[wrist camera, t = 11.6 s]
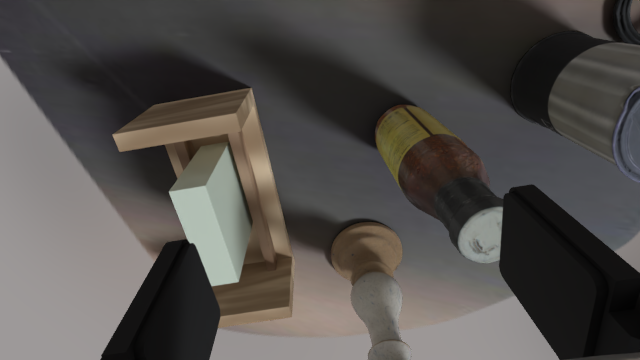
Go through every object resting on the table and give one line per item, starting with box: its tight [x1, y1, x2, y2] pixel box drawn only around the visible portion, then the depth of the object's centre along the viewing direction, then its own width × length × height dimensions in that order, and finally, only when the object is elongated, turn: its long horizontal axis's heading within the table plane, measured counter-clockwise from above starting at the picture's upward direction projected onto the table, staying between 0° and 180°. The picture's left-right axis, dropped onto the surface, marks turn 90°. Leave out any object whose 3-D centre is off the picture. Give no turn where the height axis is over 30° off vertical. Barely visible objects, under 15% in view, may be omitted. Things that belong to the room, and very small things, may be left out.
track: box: [112, 88, 295, 328], centre depth 38 cm, size 22×10×9 cm, turn 9°
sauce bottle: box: [375, 105, 503, 263], centre depth 31 cm, size 6×6×20 cm
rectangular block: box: [169, 142, 253, 286], centre depth 36 cm, size 10×4×10 cm, turn 10°
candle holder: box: [331, 222, 412, 360], centre depth 37 cm, size 9×9×20 cm
